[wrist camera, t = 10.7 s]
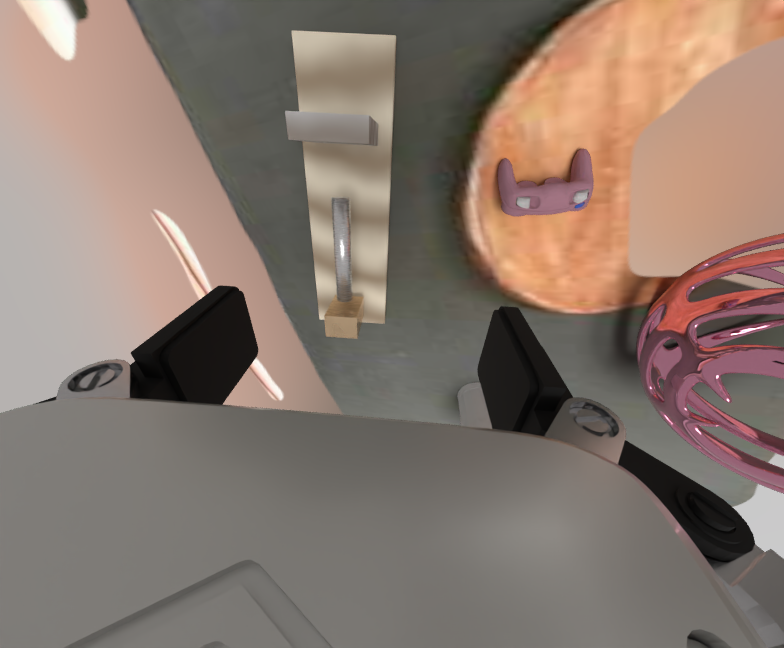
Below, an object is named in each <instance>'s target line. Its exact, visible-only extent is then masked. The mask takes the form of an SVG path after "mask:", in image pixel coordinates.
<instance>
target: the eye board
mask: <svg viewBox="0 0 784 648" xmlns="http://www.w3.org/2000/svg"><path fill="white" fill-rule="evenodd" d="M292 40H293V50H294V60H295V71H296V81H297V91H298V102H299V112H298V111H285V116H286V124H287V133H288V140H297V141H302V143H303V153H304V163H305V174H306V184H307V194H308V205H309V215H310V225H311V236H312V246H313V256H314V266H315V277H316V287H317V297H318V308H319V318H320V319H322V320H325V319H324V315H325V313H326V312H327V310H328V308H329V306H330V304H331V302H332V300H333V298H334V296H335V295H337V290H336V272H335V255H334V238H333V221H332V204H331V197H349V198H350V214H351V251H352V289H353V296H359V297H364V316H363V320H362V322H368V323H383V324H385V313H386V288H387V263H388V238H389V213H390V188H391V163H392V138H393V113H394V88H395V63H396V35H375V34H354V33H333V32H312V31H292Z"/></svg>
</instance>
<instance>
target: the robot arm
mask: <svg viewBox="0 0 784 648" xmlns="http://www.w3.org/2000/svg"><path fill="white" fill-rule="evenodd" d="M131 354H132V356H133V358H134V360H135V362H134V363H132V364H131V365H130V364H129V363H128V362H126V361H125V360H118V359H115V360H105V361H101V362H97V363H94V364H91V365H88V366H86V367H84V368H82V369H79V370H77V371H76V372H74V373H73V374H71V375H70V376H68V377H67V378H66V379H65V380H64V381H63V382H62V384H61V385H60V387H59V390H58V394H57V396H56V397H54V398H51V399H48V400H45V401H42V402H39V403H36V404H33V405H28V406H24V407H21V408H16V409H13V410H10V411H6V412H3V413H0V648H784V559H783V558H782V557H780V556H779V555H778V554H776V553H775V552H774V551H773V550H771V549H770V550H768V551H766V552H764V551H763V550H761V549H760V548H759V547H758V546H757V545H755V541H754V537H753V534H752V532H751V530H750V528H749V526H748V525H747V523H746V522H745V520H744V519H743V518H742V517H741V516H740V515H739V514H738V512H737V511H736V510H735V509H734V508H732V507H731V506H730V505H729V504H728V503H727V502H726V501H724V500H723V499H722V498H720V497H719V496H717V495H716V494H714V493H713V492H711V491H710V490H708V489H706V488H705V487H703V486H701V485H700V484H698V483H696V482H695V481H693V480H691V479H690V478H688V477H686V476H685V475H683V474H681V473H679V472H678V471H676V470H674V469H673V468H671V467H669V466H668V465H666V464H664V463H663V462H661V461H659V460H658V459H656V458H654V457H653V456H651V455H649V454H648V453H646V452H644V451H643V450H641V449H639V448H638V447H636V446H634V445H633V444H631V443H629V442H628V441H626V440H625V439H626V428H625V426H624V424H623V422H622V421H621V420H620V418H619V417H618V416H617V415H616V414H615V413H614V412H612V411H611V410H610V409H609V408H607V407H605V406H604V405H602V404H600V403H598V402H595V401H593V400H590V399H586V398H578V397H574V398H573V396H572V395H571V393H570V391H569V390H568V388H567V386H566V385H565V383H564V381H563V380H562V378H561V377H560V375H559V373H558V372H557V370H556V368H555V367H554V365H553V363H552V362H551V360H550V358H549V357H548V355H547V354H546V352H545V350H544V349H543V347H542V346H541V345H540V343H539V342H538V340H537V338H536V337H535V335H534V333H533V332H532V330H531V328H530V327H529V325H528V323H527V322H526V320H525V318H524V317H523V315H522V313H521V312H520V310H519V309H518V308H516V307H503V306H501V307H500V308H499V310H494V312H493V315H492V319H491V322H490V326H489V329H488V333H487V336H486V340H485V343H484V347H483V350H482V354H481V357H480V361H479V364H478V377H479V380H480V384H481V388H482V392H483V395H484V399H485V403H486V407H487V410H488V414H489V418H490V422H491V425H492V429H489V428H481V427H469V426H459V425H450V424H439V423H428V422H417V421H407V420H396V419H385V418H374V417H363V416H351V415H340V414H328V413H317V412H304V411H293V410H281V409H270V408H257V407H244V406H232V405H222V404H223V403H224V401H225V400H226V398H227V397H228V396H229V394H230V393H231V391H232V390H233V389H234V387H235V386H236V385H237V383H238V382H239V380H240V379H241V378H242V376H243V374H244V373H245V372H246V371H247V369H248V368H249V366H250V365H251V364H252V362H253V361H254V359H255V358H256V356H257V354H258V346H257V342H256V338H255V334H254V331H253V327H252V323H251V320H250V316H249V312H248V308H247V305H246V301H245V297H244V294H243V292H242V291H239V289H238V288H237V287H233V286H218V287H216V288H215V289H213V290H212V291H211V292H209V293H208V294H207V295H205V296H204V297H203V298H202V299H200V300H199V301H198V302H196V303H195V304H194V305H193V306H191V307H190V308H189V309H187V310H186V311H185V312H183V313H182V314H181V315H179V316H178V317H177V318H175V319H174V320H173V321H171V322H170V323H169V324H168V325H166V326H165V327H164V328H162V329H161V330H160V331H158V332H157V333H156V334H154V335H153V336H152V337H150V338H149V339H148V340H146V341H145V342H144V343H143V344H141V345H140V346H139V347H137V348H136V349H135V350H133V351H132V352H131Z"/></svg>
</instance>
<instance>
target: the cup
mask: <svg viewBox="0 0 784 648" xmlns="http://www.w3.org/2000/svg"><path fill="white" fill-rule="evenodd" d="M457 398H458V403H459V412H460V421H461V426H469V427H481V428H489V429H492V425H491V422H490V418H489V414H488V410H487V407H486V403H485V399H484V395H483V392H482V388H481V384H480V383H477V382H476V383H470V384H467V385H465V386H463V387H462V388H461V389H460V390H459V392H458V395H457Z"/></svg>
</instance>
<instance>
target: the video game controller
mask: <svg viewBox="0 0 784 648" xmlns="http://www.w3.org/2000/svg"><path fill="white" fill-rule="evenodd" d="M498 185H499V191H500V196H501V201H502V205H501V208H502V211H503V212H504V213H506V214H508V215H512V216H523V215H549V214H557V213H562V212H567V211H579V210H582V209H584V208H585V207H586V206H587V204H588V202H589V200H590V198H591V196H592V191H593V173H592V164H591V157H590V154H589V152H588V151H587V150H586V149H580V150H579V151H578V152H577V153H576V155H575V157H574V159H573V163H572V167H571V179H570V182H569V183H568V182H566V181H564V180H562V179H560V178H555V177H554V178H549V179H547V180H546V181H545V183H544V185H541V186H537V185H536V183H534V182H531V181H521V182H519V183H518V184H517V183H516V181H515V178H514V174H513V169H512V165H511V163H510V161H509V160H508V159H507V158H504V159H503V160H502V161H501V163H500V165H499V168H498Z"/></svg>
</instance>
